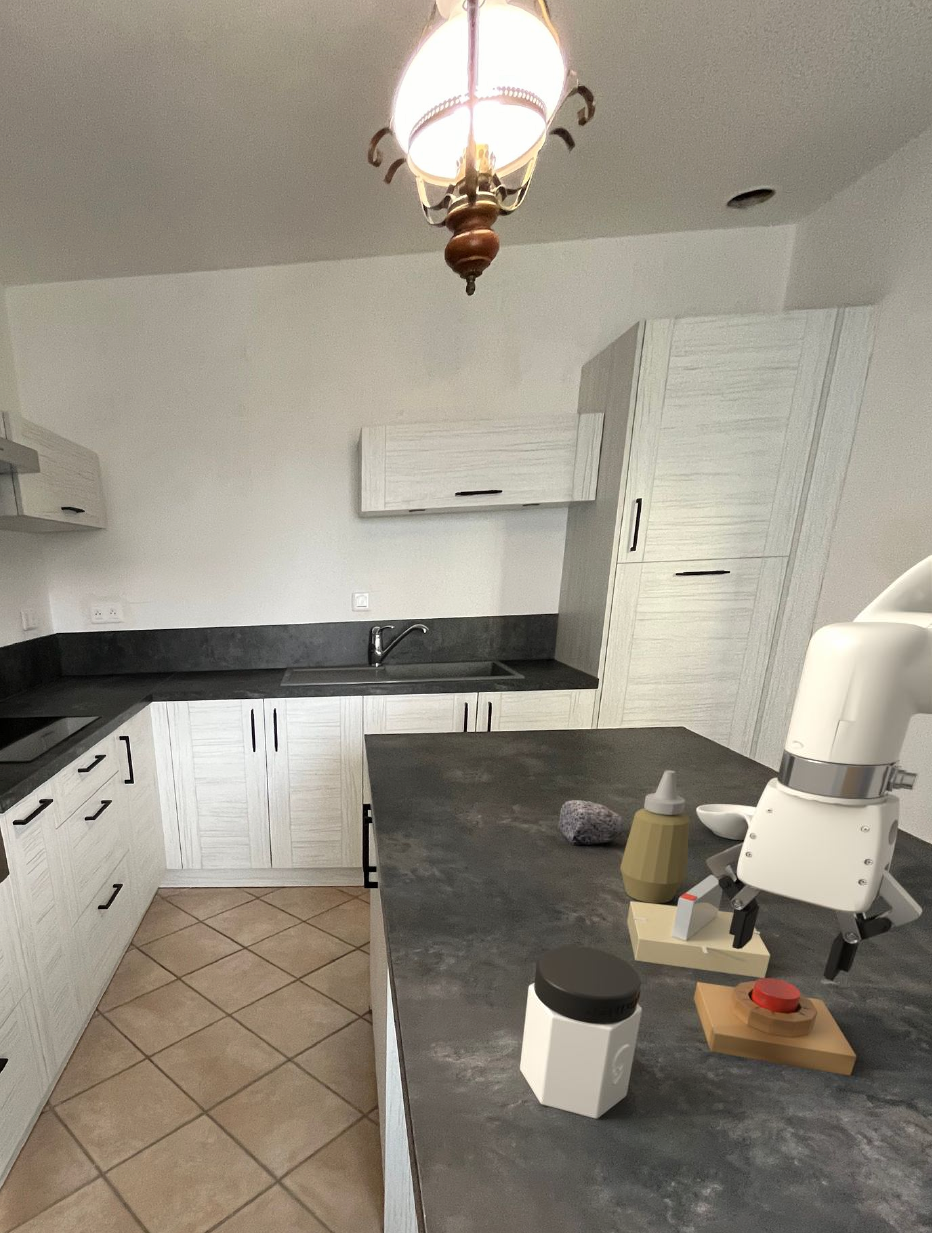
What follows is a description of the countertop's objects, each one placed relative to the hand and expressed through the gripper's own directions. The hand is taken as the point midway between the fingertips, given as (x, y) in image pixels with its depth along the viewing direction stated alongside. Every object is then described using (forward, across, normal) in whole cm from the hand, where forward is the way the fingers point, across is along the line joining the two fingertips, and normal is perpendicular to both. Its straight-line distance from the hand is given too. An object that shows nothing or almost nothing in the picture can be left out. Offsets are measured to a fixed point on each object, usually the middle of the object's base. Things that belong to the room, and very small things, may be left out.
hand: (785, 956), depth 64 cm
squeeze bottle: (+9, +21, -22) cm, 32 cm away
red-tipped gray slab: (+6, +11, -12) cm, 17 cm away
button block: (+9, 0, 0) cm, 9 cm away
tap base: (+9, +12, -12) cm, 19 cm away
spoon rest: (+9, +19, -50) cm, 55 cm away
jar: (+9, +9, +20) cm, 24 cm away
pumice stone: (+9, +37, -35) cm, 52 cm away
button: (+5, 0, 0) cm, 5 cm away
